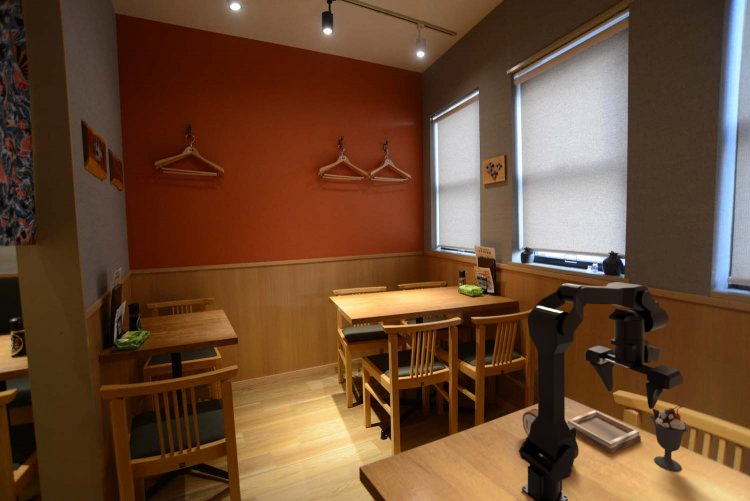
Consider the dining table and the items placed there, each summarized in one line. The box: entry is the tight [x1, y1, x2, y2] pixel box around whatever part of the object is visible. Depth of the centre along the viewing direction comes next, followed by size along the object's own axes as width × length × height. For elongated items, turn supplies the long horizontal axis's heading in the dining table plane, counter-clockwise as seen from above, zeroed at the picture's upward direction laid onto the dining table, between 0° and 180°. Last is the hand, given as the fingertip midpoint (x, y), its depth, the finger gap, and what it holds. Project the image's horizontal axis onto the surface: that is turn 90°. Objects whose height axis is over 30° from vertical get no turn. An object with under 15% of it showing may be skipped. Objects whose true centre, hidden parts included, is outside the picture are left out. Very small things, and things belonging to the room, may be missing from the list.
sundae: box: [650, 404, 689, 472], centre depth 80 cm, size 7×7×15 cm
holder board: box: [567, 409, 642, 455], centre depth 93 cm, size 12×12×2 cm
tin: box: [522, 408, 580, 460], centre depth 87 cm, size 15×3×8 cm, turn 22°
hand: (629, 399), depth 83 cm, fingers open, 9 cm apart
